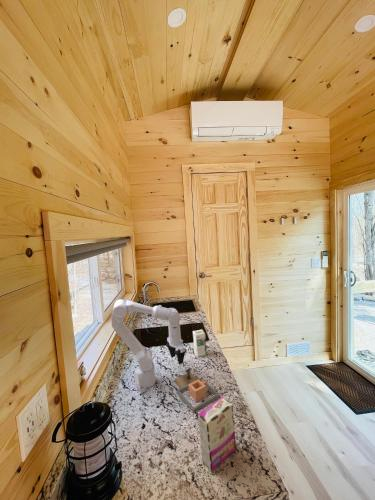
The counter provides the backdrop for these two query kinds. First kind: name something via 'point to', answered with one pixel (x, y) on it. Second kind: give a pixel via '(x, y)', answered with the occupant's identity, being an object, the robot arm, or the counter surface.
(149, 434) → the counter surface
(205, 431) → the candy bar box
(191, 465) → the counter surface
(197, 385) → the collar
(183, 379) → the stake board
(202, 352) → the syrup box
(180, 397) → the tray
